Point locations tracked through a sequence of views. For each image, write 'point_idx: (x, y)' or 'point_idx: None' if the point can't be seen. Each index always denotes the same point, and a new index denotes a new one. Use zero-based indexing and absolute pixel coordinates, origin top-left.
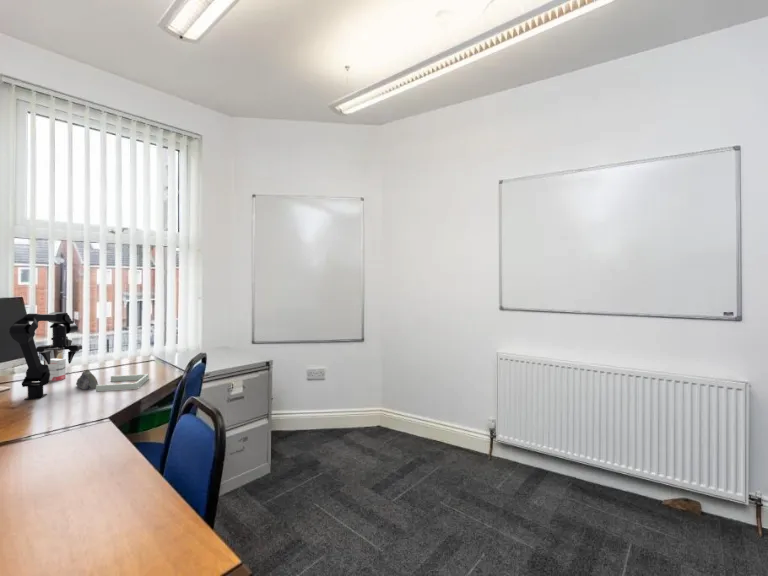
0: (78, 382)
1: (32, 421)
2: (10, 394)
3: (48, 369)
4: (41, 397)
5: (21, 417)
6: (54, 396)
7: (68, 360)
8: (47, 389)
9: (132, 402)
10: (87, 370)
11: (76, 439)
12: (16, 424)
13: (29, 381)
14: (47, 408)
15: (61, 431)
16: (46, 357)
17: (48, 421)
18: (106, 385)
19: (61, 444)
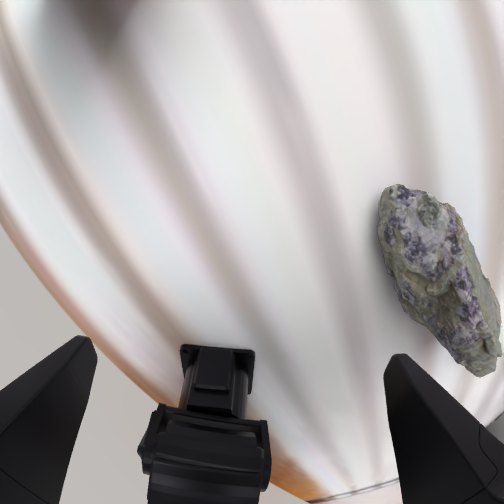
0: (409, 314)
1: (314, 479)
2: (51, 281)
3: (257, 493)
4: (251, 385)
5: (280, 470)
6: (301, 372)
7: (394, 433)
8: (187, 235)
9: (495, 416)
10: (494, 355)
11: (389, 494)
12: (289, 483)
13: (161, 426)
14: (321, 448)
15: (371, 489)
16: (59, 481)
17: (345, 479)
18: (502, 351)
19: (374, 499)
